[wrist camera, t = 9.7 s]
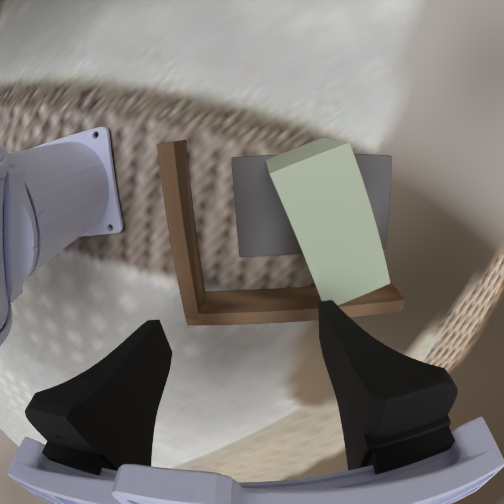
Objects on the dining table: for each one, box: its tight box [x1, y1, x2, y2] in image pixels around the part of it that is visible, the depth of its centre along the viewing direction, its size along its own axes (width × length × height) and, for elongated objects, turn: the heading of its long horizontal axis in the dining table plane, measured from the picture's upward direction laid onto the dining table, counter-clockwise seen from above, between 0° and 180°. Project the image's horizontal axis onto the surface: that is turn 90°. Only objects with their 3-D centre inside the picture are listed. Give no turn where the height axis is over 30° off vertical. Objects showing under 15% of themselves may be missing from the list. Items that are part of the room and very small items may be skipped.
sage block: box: [266, 138, 390, 305], centre depth 17 cm, size 4×8×6 cm, turn 24°
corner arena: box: [157, 140, 405, 325], centre depth 19 cm, size 16×12×3 cm
